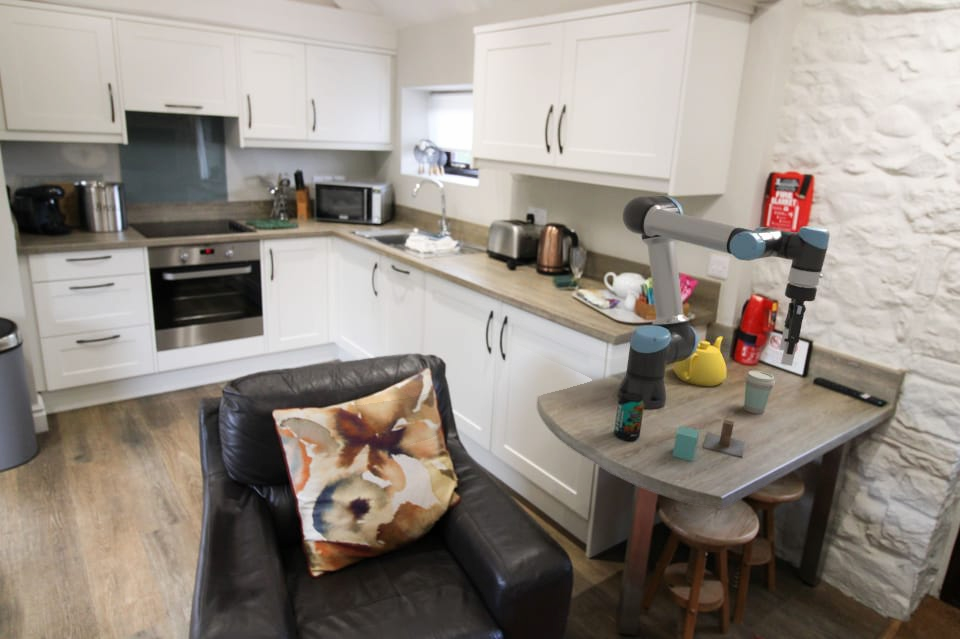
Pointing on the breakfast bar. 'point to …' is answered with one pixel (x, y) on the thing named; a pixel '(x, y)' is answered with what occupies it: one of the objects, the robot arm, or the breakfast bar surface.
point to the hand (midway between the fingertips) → (785, 357)
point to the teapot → (703, 365)
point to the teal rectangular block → (686, 443)
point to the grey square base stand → (725, 441)
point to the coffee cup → (757, 391)
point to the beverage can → (629, 416)
